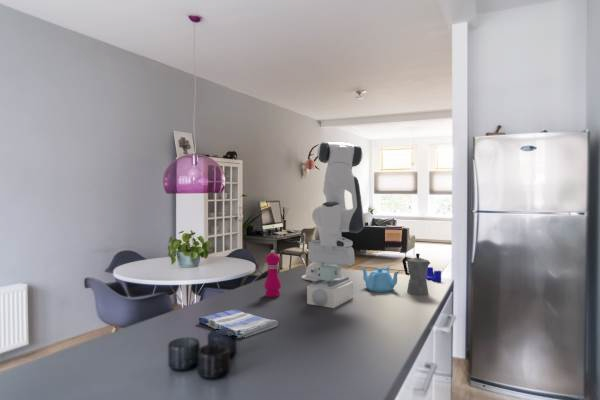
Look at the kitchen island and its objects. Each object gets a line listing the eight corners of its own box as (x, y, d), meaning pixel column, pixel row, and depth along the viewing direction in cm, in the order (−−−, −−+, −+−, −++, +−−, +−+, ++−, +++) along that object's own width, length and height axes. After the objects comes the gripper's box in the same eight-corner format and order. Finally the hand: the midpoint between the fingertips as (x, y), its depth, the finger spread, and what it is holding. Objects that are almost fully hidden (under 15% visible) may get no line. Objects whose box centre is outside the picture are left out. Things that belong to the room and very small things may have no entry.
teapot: (368, 294, 181) (368, 271, 181) (359, 286, 196) (359, 265, 196) (400, 293, 183) (400, 270, 183) (389, 285, 198) (389, 264, 198)
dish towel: (239, 340, 124) (239, 331, 124) (196, 324, 140) (196, 316, 140) (280, 327, 137) (280, 318, 137) (236, 313, 153) (236, 305, 153)
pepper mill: (282, 293, 182) (282, 248, 181) (279, 297, 174) (279, 251, 174) (266, 293, 182) (266, 248, 182) (263, 297, 175) (263, 250, 175)
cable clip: (423, 278, 216) (423, 267, 216) (431, 278, 217) (431, 267, 217) (432, 283, 204) (432, 271, 204) (441, 283, 205) (441, 271, 205)
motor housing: (306, 304, 164) (306, 281, 164) (331, 293, 182) (331, 273, 182) (332, 308, 157) (332, 285, 157) (355, 296, 176) (355, 276, 176)
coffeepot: (436, 295, 179) (436, 254, 179) (422, 298, 174) (422, 256, 174) (409, 288, 192) (409, 250, 192) (395, 291, 187) (395, 252, 186)
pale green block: (320, 279, 166) (320, 267, 166) (332, 275, 175) (332, 263, 175) (329, 281, 163) (329, 268, 163) (341, 276, 173) (341, 264, 173)
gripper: (305, 240, 172) (305, 273, 172) (349, 243, 161) (349, 278, 161) (312, 238, 177) (312, 270, 177) (356, 241, 166) (356, 275, 166)
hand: (330, 274), depth 169 cm, fingers closed on pale green block, 4 cm apart
